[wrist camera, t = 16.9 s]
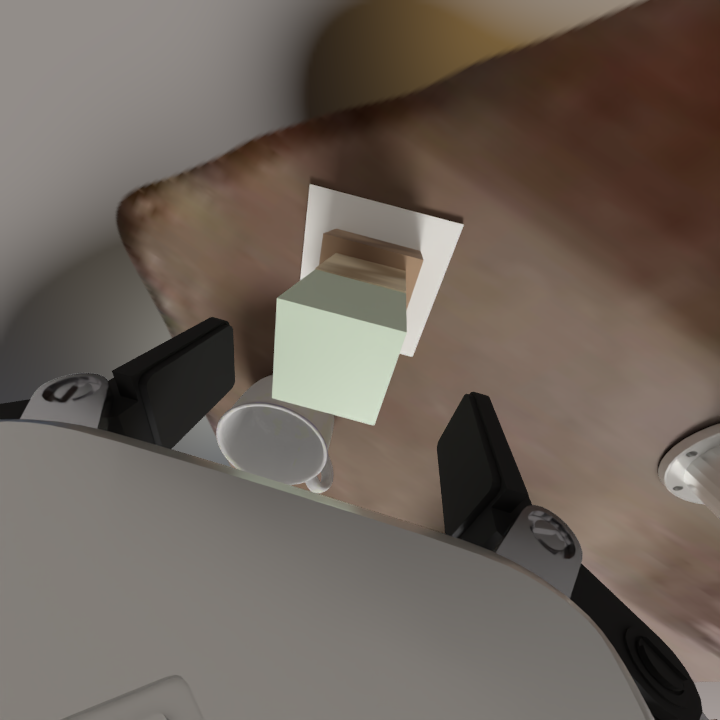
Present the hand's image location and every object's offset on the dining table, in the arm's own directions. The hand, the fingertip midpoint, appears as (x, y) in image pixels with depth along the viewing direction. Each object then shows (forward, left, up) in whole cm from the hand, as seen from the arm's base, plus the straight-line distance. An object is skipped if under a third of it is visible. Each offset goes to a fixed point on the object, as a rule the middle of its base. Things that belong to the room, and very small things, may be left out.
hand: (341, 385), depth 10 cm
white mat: (+1, 0, -15) cm, 15 cm away
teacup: (+5, +17, -16) cm, 23 cm away
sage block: (+1, 0, -6) cm, 6 cm away
